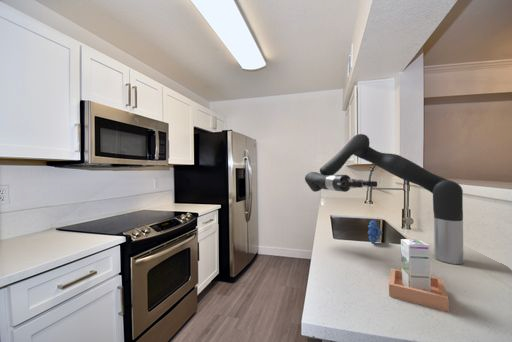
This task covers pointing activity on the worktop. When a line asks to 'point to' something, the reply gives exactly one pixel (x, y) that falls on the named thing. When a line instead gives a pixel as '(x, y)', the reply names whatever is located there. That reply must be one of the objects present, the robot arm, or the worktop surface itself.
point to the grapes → (373, 231)
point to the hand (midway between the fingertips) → (369, 184)
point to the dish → (419, 292)
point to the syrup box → (415, 264)
